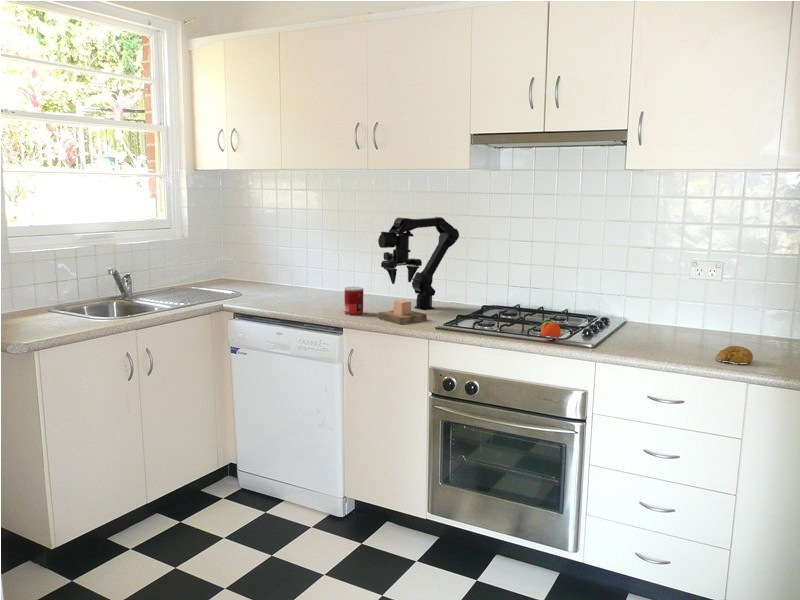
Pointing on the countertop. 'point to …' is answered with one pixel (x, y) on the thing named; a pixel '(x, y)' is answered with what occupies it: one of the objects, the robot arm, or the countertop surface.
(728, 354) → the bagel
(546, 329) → the clementine
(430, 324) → the countertop surface
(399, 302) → the block
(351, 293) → the canned food
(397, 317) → the base board
